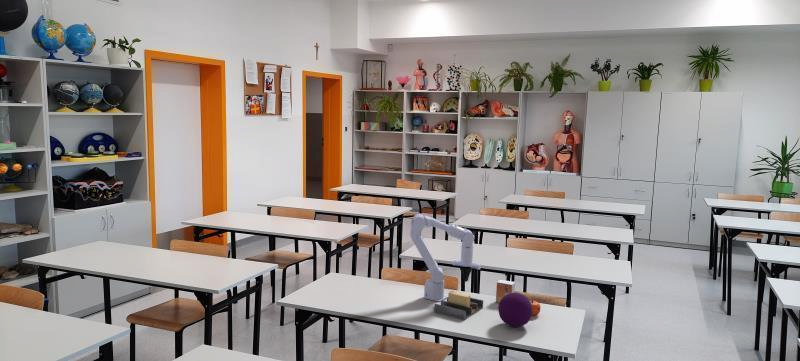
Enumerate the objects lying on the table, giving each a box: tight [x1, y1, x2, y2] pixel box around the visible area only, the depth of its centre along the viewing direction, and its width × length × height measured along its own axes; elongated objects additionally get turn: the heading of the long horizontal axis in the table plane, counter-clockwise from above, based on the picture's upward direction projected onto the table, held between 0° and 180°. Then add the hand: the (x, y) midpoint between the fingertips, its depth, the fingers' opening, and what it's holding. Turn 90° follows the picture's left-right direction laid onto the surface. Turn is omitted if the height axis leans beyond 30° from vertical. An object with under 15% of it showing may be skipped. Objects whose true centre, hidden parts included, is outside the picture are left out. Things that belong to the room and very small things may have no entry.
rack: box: [433, 296, 484, 321], centre depth 272 cm, size 16×19×4 cm
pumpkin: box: [530, 299, 542, 317], centre depth 269 cm, size 8×8×7 cm
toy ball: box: [497, 291, 533, 328], centre depth 254 cm, size 15×15×15 cm
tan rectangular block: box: [447, 290, 471, 307], centre depth 272 cm, size 10×3×7 cm, turn 56°
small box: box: [495, 279, 516, 304], centre depth 285 cm, size 8×6×10 cm
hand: (465, 281), depth 287 cm, fingers closed
